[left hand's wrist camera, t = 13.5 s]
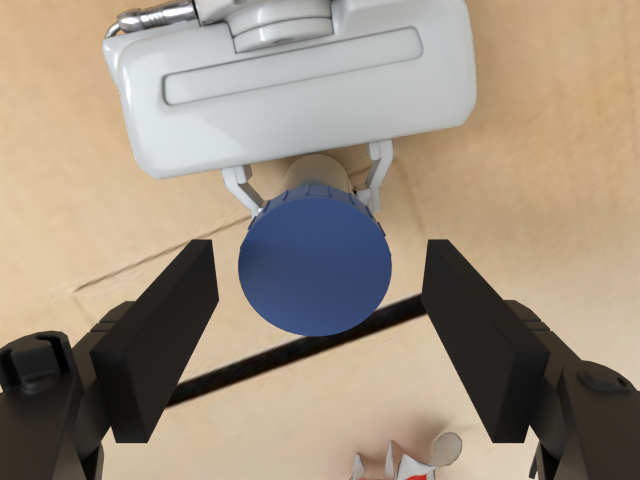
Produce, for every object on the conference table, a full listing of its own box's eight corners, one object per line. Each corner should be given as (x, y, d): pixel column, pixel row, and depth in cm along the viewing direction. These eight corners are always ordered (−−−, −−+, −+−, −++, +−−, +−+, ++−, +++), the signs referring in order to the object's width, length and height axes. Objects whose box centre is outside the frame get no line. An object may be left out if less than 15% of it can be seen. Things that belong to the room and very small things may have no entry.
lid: (235, 190, 16) (222, 203, 13) (381, 176, 15) (392, 187, 13) (258, 315, 18) (250, 343, 16) (386, 304, 18) (395, 331, 16)
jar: (279, 157, 29) (239, 211, 14) (347, 150, 28) (377, 198, 14) (287, 221, 31) (260, 327, 16) (351, 215, 30) (382, 317, 16)
